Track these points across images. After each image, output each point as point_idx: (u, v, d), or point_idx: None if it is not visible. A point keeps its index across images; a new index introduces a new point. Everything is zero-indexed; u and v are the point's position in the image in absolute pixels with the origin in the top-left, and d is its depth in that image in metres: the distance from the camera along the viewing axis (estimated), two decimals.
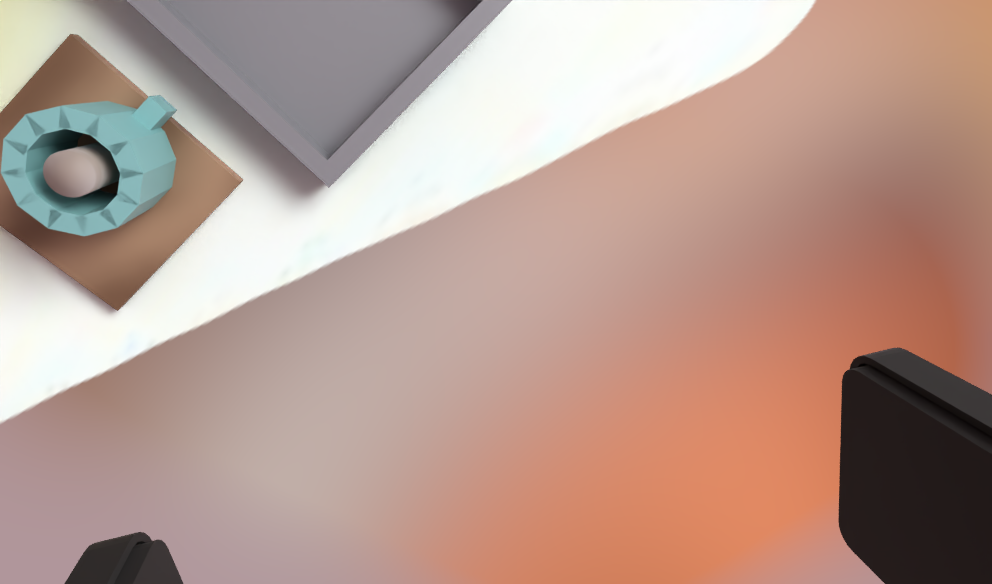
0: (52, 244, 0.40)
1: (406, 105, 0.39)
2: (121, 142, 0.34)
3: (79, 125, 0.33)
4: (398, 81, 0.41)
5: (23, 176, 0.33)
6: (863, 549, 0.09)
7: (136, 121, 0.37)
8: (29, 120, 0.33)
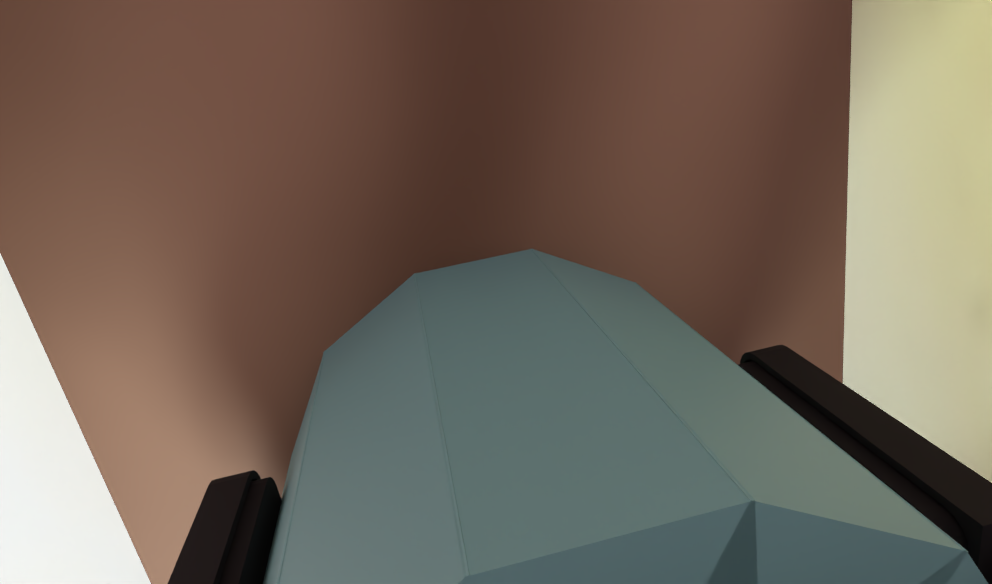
0: None
1: None
2: None
3: None
4: None
5: None
6: None
7: None
8: None
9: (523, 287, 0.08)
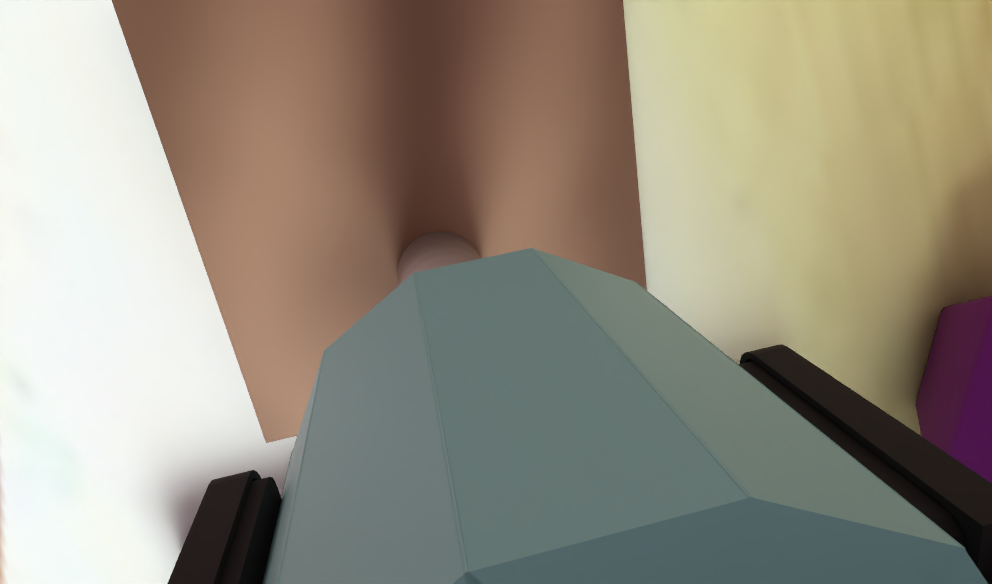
0: (360, 9, 0.15)
1: None
2: None
3: None
4: None
5: None
6: None
7: None
8: None
9: (522, 286, 0.08)
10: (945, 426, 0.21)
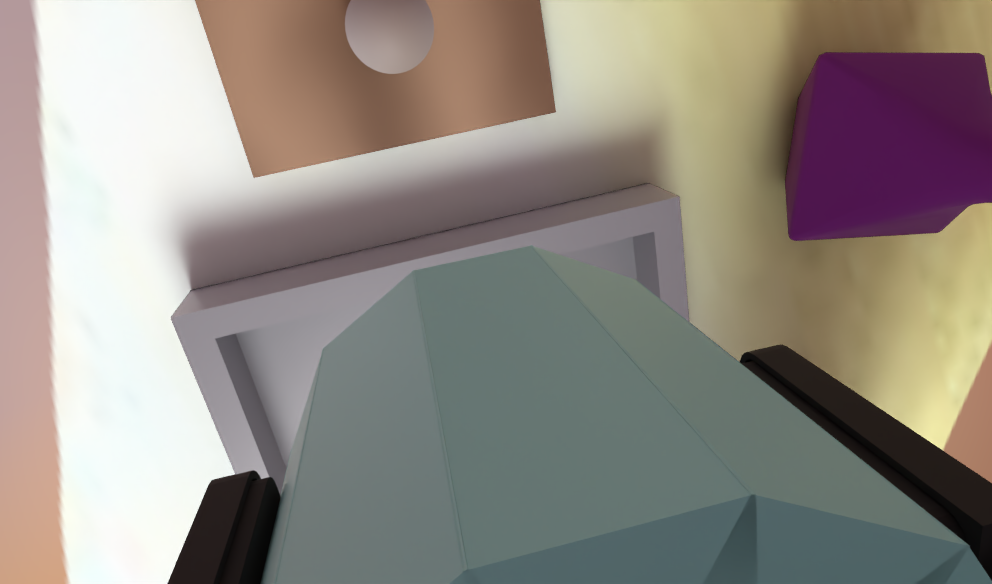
0: None
1: (237, 471, 0.26)
2: None
3: None
4: (280, 443, 0.29)
5: None
6: None
7: None
8: None
9: (522, 283, 0.08)
10: (795, 177, 0.27)
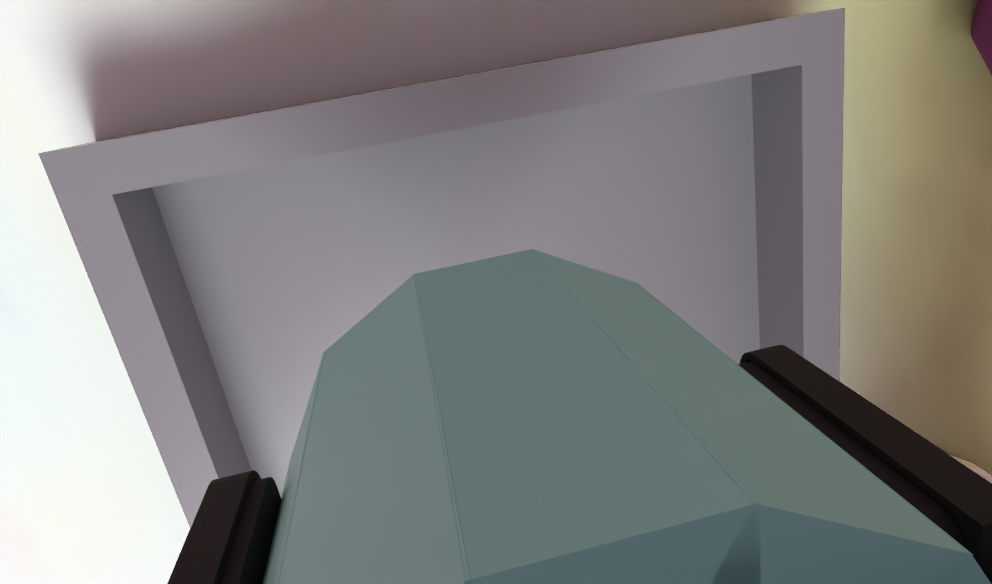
0: None
1: (150, 418, 0.17)
2: None
3: None
4: (228, 387, 0.20)
5: None
6: None
7: None
8: None
9: (523, 287, 0.08)
10: None
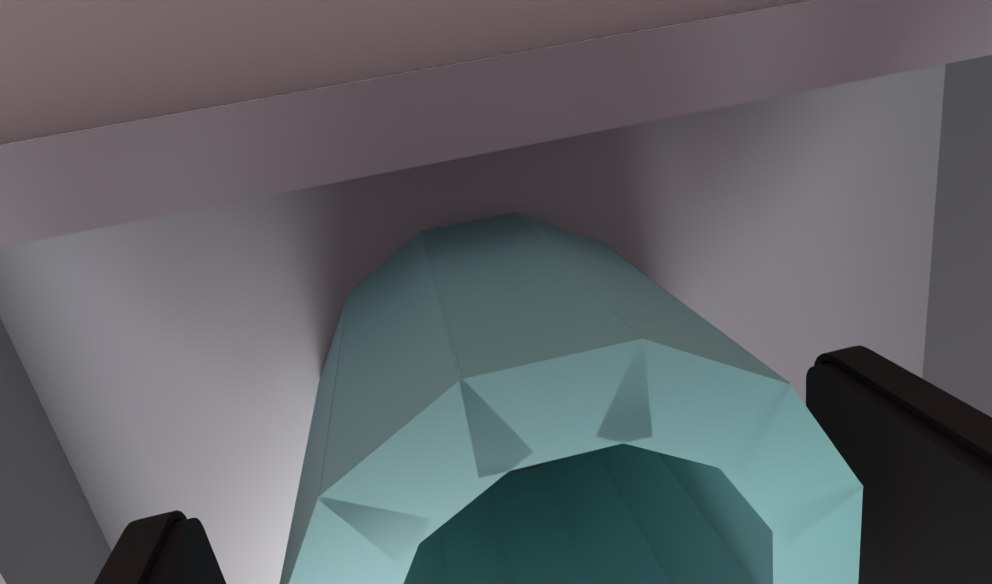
0: None
1: None
2: None
3: None
4: None
5: (714, 451, 0.07)
6: None
7: None
8: None
9: (507, 236, 0.10)
10: None
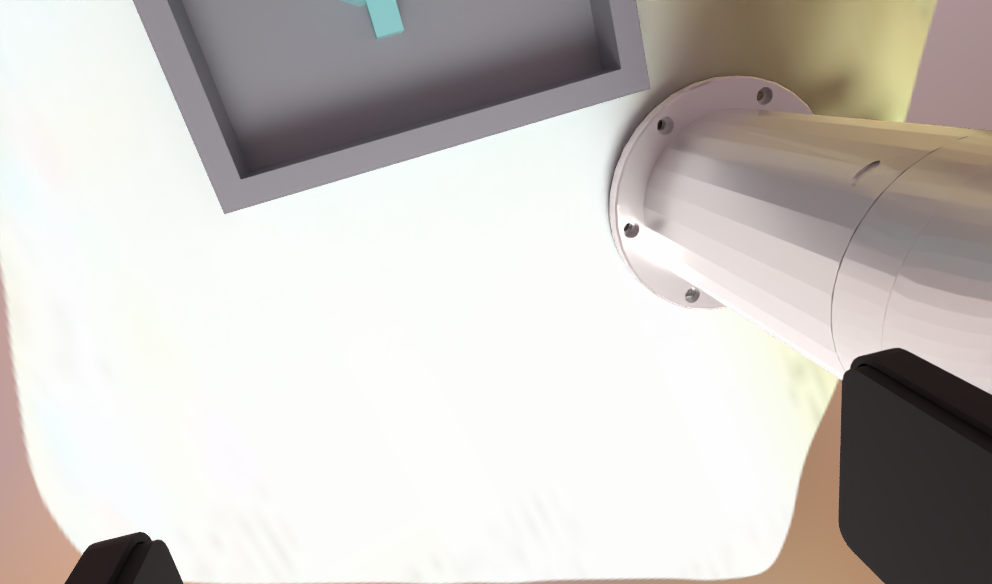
0: None
1: None
2: None
3: None
4: (189, 10, 0.27)
5: None
6: (863, 549, 0.09)
7: None
8: None
9: None
10: None
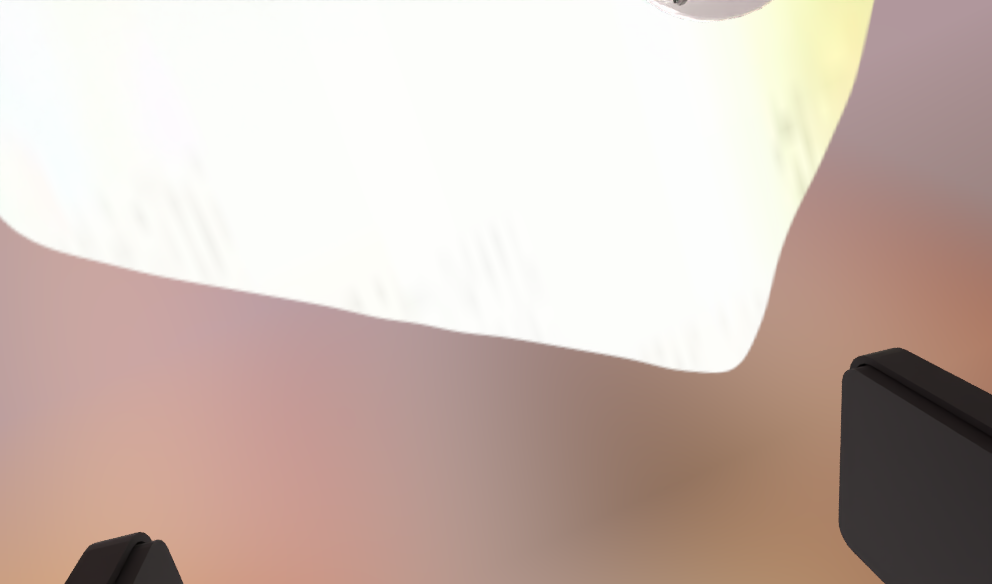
0: None
1: None
2: None
3: None
4: None
5: None
6: (863, 549, 0.09)
7: None
8: None
9: None
10: None
